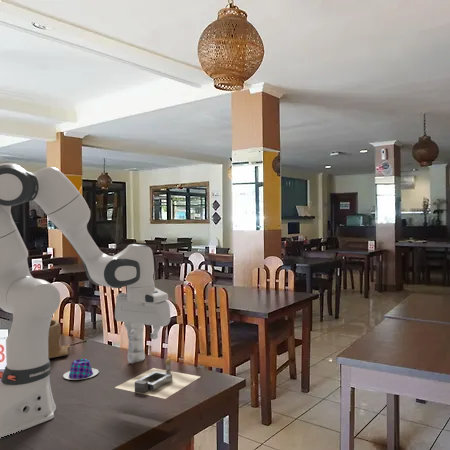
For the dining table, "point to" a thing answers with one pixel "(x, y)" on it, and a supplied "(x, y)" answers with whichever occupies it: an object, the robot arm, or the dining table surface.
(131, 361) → the plastic bottle
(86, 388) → the dining table surface
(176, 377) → the board
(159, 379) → the steel link
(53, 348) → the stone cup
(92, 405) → the dining table surface
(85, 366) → the plaid fedora hat
